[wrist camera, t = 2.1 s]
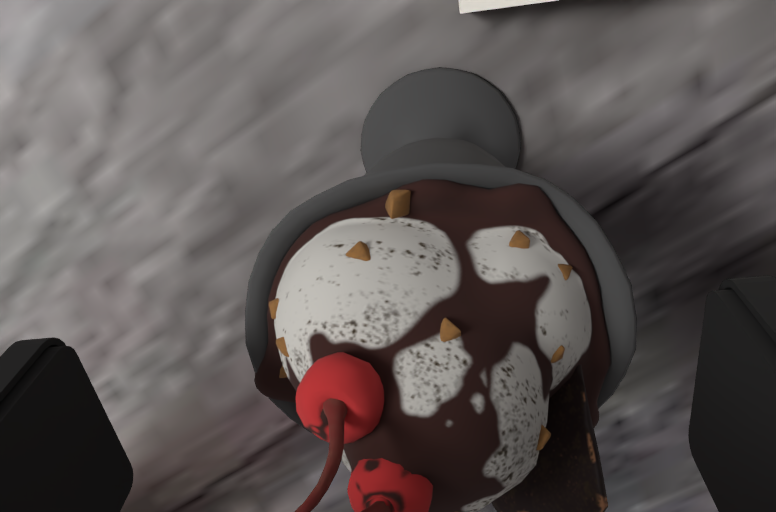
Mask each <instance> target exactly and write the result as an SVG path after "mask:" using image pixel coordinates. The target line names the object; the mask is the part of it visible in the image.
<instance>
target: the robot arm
mask: <svg viewBox="0 0 776 512" xmlns="http://www.w3.org/2000/svg"><path fill="white" fill-rule="evenodd" d="M689 444H690V449H691V453H692V456H693V458H694V461H695V463H696V465H697V467H698V469H699V471H700V473H701V475H702V477H703V480H704V482H705V484H706V486H707V488H708V490H709V492H710V494H711V496H712V498H713V500H714V503H715V505H716V507H717V509H718V511H719V512H776V278H774V277H773V276H757V277H745V278H734V279H726V280H724V281H723V282H722V284H721V285H720V288H719V290H718V291H711V292H709V294H708V295H707V299H706V305H705V312H704V320H703V328H702V335H701V343H700V350H699V358H698V365H697V373H696V380H695V388H694V395H693V403H692V410H691V418H690V425H689ZM132 483H133V469H132V466H131V463H130V461H129V459H128V457H127V455H126V453H125V451H124V449H123V447H122V445H121V443H120V441H119V439H118V437H117V435H116V433H115V431H114V429H113V427H112V425H111V423H110V421H109V418H108V416H107V414H106V412H105V410H104V408H103V406H102V404H101V402H100V400H99V398H98V396H97V394H96V392H95V390H94V388H93V386H92V384H91V382H90V380H89V378H88V376H87V373H86V371H85V369H84V367H83V365H82V363H81V361H80V359H79V357H78V355H77V353H76V352H75V350H74V349H73V348H71V347H69V346H66V345H65V343H64V342H63V341H61V340H60V339H58V338H43V339H32V340H21V341H17V342H15V343H14V344H12V345H11V346H10V347H9V348H8V349H7V350H6V351H5V352H4V353H3V354H2V356H1V357H0V512H120V510H121V508H122V506H123V504H124V502H125V500H126V498H127V496H128V494H129V492H130V490H131V487H132Z"/></svg>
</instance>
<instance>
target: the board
mask: <svg viewBox="0 0 776 512" xmlns="http://www.w3.org/2000/svg"><path fill="white" fill-rule="evenodd" d="M550 1H557V0H459V10H460V14H461V13H469V12H476V11H483V10H491V9H498V8H506V7H513V6H520V5H528V4H535V3H543V2H550Z"/></svg>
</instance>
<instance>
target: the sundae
mask: <svg viewBox="0 0 776 512" xmlns="http://www.w3.org/2000/svg"><path fill="white" fill-rule="evenodd" d="M520 149H521V145H520V132H519V128H518V123H517V119H516V116H515V114H514V112H513V111H512V109H511V107H510V105H509V103H508V102H507V101H506V99H505V98H504V97H503V95H502V94H501V93H500V91H499V90H497V89H496V88H495V87H494V86H492V85H491V84H490V83H488V82H487V81H485V80H484V79H482V78H480V77H478V76H477V75H475V74H473V73H470V72H466V71H462V70H458V69H450V68H441V67H438V68H432V69H426V70H421V71H418V72H415V73H411V74H408V75H406V76H404V77H403V78H401V79H399V80H398V81H396V82H395V83H393V84H392V85H391V86H389V87H388V88H387V89H386V90H385V91H383V92H382V93H381V94H380V96H379V97H378V98H377V100H376V101H375V103H374V104H373V106H372V107H371V109H370V111H369V113H368V115H367V117H366V119H365V121H364V126H363V131H362V138H361V154H362V159H363V164H364V167H365V170H366V174H365V175H364V176H362V177H358V178H354V179H350V180H347V181H345V182H343V183H341V184H339V185H337V186H335V187H333V188H330V189H328V190H326V191H324V192H322V193H320V194H318V195H316V196H314V197H312V198H311V199H309V200H307V201H306V202H304V203H303V204H301V205H299V206H298V207H296V208H295V209H293V210H291V211H290V212H289V213H288V214H287V215H286V216H285V217H284V218H283V219H282V220H281V222H280V223H279V224H278V225H277V226H276V227H275V228H274V229H273V230H272V231H271V233H270V235H269V236H268V238H267V240H266V242H265V243H264V245H263V247H262V248H261V250H260V252H259V254H258V257H257V259H256V262H255V265H254V268H253V271H252V273H251V276H250V279H249V282H248V291H247V299H246V308H245V331H246V346H247V349H248V352H249V356H250V359H251V362H252V365H253V368H254V371H255V380H254V381H255V384H256V387H257V389H258V390H259V391H260V392H261V393H262V394H264V395H265V396H267V397H269V399H270V400H271V401H272V402H273V403H274V404H275V405H276V406H277V407H278V408H280V409H281V410H282V411H283V412H284V413H285V414H286V415H287V416H288V417H289V418H290V419H292V420H293V421H295V422H296V423H297V424H299V425H300V426H302V427H303V428H305V429H306V430H307V431H309V432H311V433H313V434H315V435H316V436H317V437H319V438H320V439H322V440H324V441H327V442H329V454H328V457H327V461H326V464H325V467H324V470H323V472H322V475H321V477H320V479H319V482H318V484H317V485H316V487H315V488H314V489H313V491H312V492H311V494H310V495H309V496H308V498H307V499H306V500H305V502H304V503H303V504H302V505H301V506H300V507H299V508H298V509H297V510H296V511H295V512H310V511H312V510H313V509H314V508H315V507H316V506H317V505H318V503H319V502H320V500H321V499H322V497H323V496H324V494H325V493H326V492H327V490H328V488H329V486H330V484H331V482H332V480H333V478H334V477H335V475H336V473H337V471H338V468H339V465H340V462H341V460H342V461H343V463H344V465H345V466H346V467H347V468H348V470H349V471H350V472H351V477H350V480H349V485H348V495H349V499H350V503H351V506H352V508H353V510H354V512H476V511H477V510H479V509H481V508H483V507H485V506H486V505H488V504H489V503H492V504H493V506H494V508H495V509H496V510H497V512H605V510H606V509H607V507H608V502H607V496H606V490H605V484H604V478H603V473H602V467H601V462H600V456H599V451H598V447H597V442H596V438H595V433H594V429H593V428H594V427H595V426H596V425H597V423H598V420H599V411H598V409H599V408H600V407H601V406H602V405H603V404H604V403H605V402H606V401H607V400H608V399H609V398H610V397H611V396H612V395H613V393H614V392H615V390H616V389H617V387H618V386H619V384H620V382H621V381H622V379H623V378H624V376H625V374H626V372H627V369H628V367H629V365H630V362H631V360H632V357H633V355H634V352H635V350H636V324H637V318H636V311H635V305H634V298H633V292H632V285H631V283H630V281H629V279H628V277H627V275H626V272H625V270H624V268H623V266H622V264H621V262H620V260H619V258H618V255H617V253H616V251H615V249H614V248H613V246H612V245H611V243H610V242H609V240H608V238H607V237H606V235H605V234H604V232H603V230H602V229H601V227H600V226H599V224H598V223H597V221H596V220H595V219H594V218H593V217H592V216H591V215H590V214H589V213H588V212H587V211H586V210H585V209H584V208H583V207H582V206H581V205H580V204H579V203H578V202H577V201H576V200H575V199H574V198H573V197H571V196H570V195H569V194H568V193H566V192H564V191H563V190H561V189H560V188H558V187H557V186H555V185H553V184H552V183H550V182H549V181H547V180H546V179H543V178H540V177H537V176H534V175H531V174H528V173H526V172H523V171H520V170H517V169H516V166H517V163H518V158H519V153H520Z"/></svg>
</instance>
